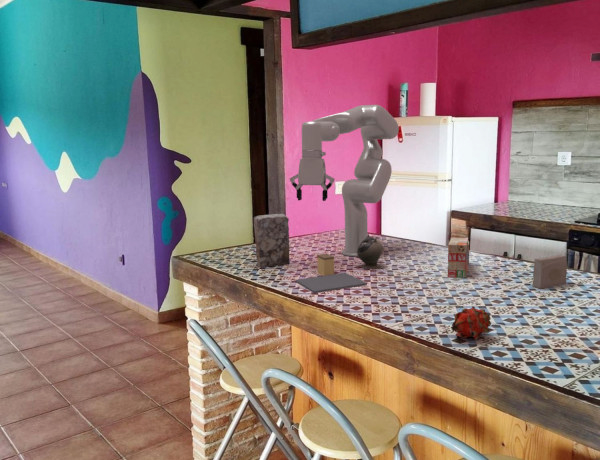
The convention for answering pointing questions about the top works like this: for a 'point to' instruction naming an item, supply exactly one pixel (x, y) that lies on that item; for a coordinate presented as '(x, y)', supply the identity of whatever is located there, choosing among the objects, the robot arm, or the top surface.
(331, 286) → the mat
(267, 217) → the stone block
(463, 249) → the stack of blocks
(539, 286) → the taupe upright slab
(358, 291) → the top surface
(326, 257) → the block
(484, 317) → the dragon fruit
